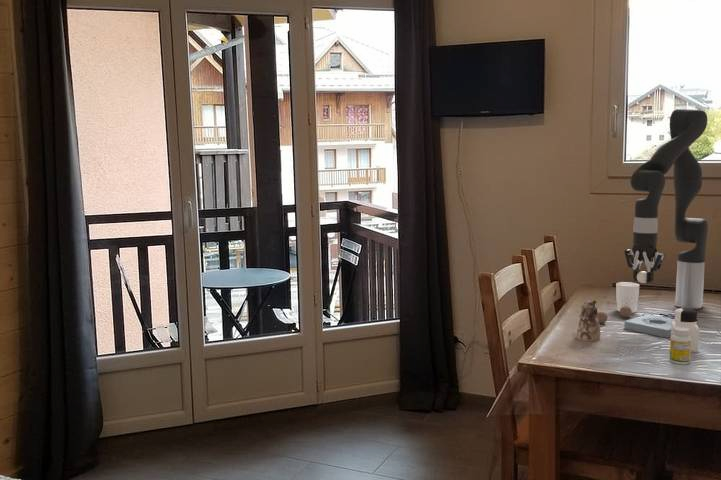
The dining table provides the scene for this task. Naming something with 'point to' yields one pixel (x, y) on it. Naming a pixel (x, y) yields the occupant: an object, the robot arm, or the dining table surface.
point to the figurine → (588, 323)
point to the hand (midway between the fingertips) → (642, 281)
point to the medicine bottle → (687, 325)
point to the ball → (642, 277)
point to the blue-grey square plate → (650, 325)
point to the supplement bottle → (680, 346)
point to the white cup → (627, 295)
